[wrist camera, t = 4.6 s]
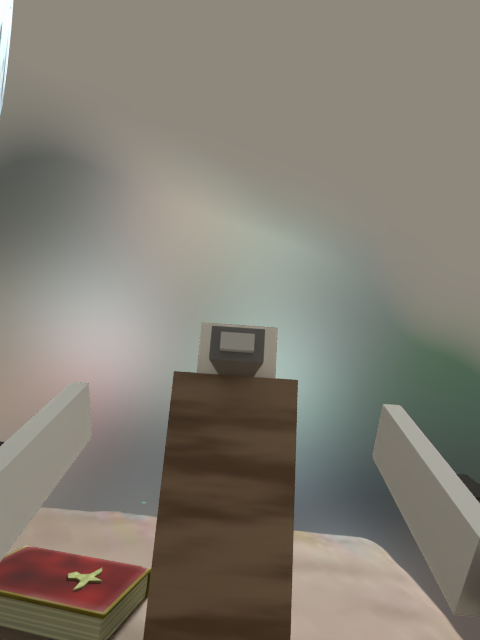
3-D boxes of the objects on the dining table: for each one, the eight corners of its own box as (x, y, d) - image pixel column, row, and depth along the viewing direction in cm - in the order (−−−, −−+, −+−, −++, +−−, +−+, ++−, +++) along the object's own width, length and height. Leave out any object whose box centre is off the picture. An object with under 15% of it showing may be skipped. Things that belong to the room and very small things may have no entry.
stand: (288, 710, 31) (297, 380, 38) (136, 698, 31) (174, 371, 39) (275, 637, 41) (285, 384, 48) (159, 628, 41) (186, 377, 48)
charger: (300, 363, 24) (302, 282, 25) (171, 354, 24) (181, 273, 25) (268, 383, 48) (270, 341, 49) (203, 378, 48) (207, 336, 49)
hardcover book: (22, 573, 52) (28, 542, 53) (148, 598, 48) (152, 564, 49) (-58, 619, 41) (-49, 578, 42) (98, 658, 37) (104, 612, 38)
